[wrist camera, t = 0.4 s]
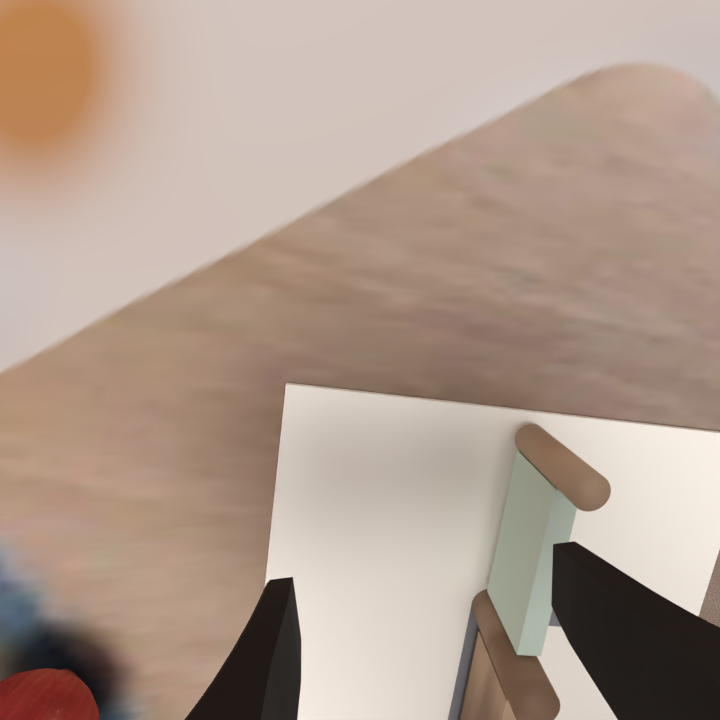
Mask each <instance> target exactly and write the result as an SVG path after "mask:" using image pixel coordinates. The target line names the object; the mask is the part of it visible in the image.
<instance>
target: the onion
mask: <svg viewBox="0 0 720 720" xmlns="http://www.w3.org/2000/svg"><path fill="white" fill-rule="evenodd" d="M0 720H100V717H99V709H98V707H97V704H96V702H95V699H94V697H93V695H92V693H91V691H90V689H89V688H88V686H87V685H86V684H85V683H84V682H83V681H82V680H81V679H80V678H79V677H77V675H76V674H75V673H74V672H73V671H71V670H69V669H60V670H57V669H51V668H44V669H36V670H31V671H25V672H20V673H15V674H13V675H12V676H10V677H8V678H6V679H5V680H3V681H1V682H0Z"/></svg>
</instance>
